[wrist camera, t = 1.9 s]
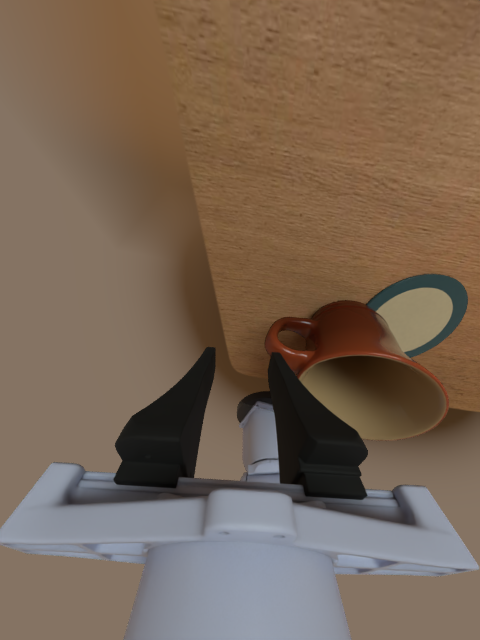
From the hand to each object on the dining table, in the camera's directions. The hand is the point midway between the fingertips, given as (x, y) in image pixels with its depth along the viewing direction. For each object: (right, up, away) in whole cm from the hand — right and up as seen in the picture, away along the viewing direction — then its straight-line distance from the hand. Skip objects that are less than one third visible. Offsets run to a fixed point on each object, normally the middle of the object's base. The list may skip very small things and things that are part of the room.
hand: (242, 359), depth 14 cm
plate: (+20, +3, +8) cm, 21 cm away
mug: (+10, +3, +7) cm, 13 cm away
